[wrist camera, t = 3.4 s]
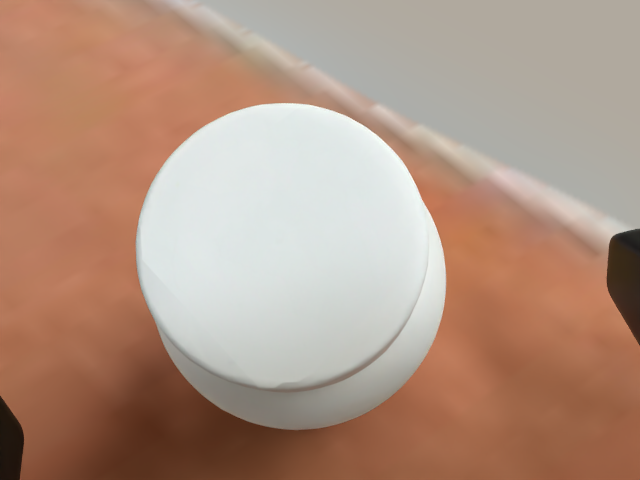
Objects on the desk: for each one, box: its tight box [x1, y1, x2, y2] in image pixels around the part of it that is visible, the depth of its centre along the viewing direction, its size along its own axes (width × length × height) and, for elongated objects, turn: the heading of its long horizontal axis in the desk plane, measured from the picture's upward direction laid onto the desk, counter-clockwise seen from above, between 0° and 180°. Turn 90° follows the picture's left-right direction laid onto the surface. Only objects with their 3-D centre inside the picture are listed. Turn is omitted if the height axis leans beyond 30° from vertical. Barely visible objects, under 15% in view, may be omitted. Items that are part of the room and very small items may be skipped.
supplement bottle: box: [136, 103, 446, 430], centre depth 13 cm, size 5×5×10 cm
